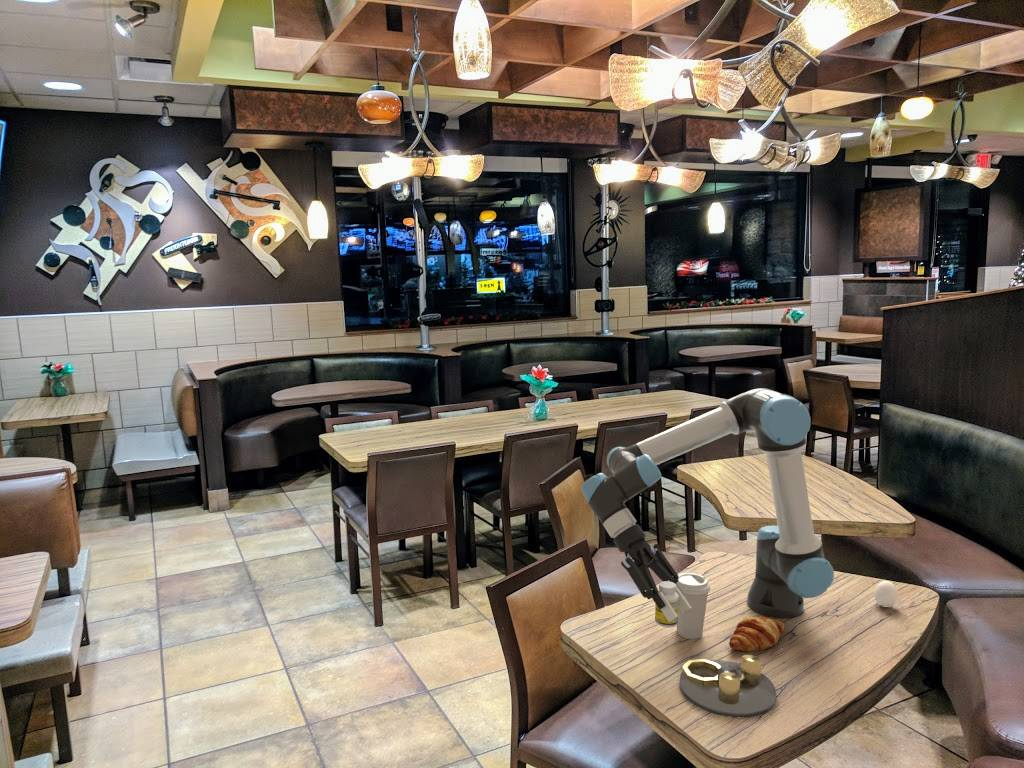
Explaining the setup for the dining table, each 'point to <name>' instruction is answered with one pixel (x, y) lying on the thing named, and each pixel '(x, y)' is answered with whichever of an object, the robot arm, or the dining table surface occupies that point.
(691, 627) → the coffee cup
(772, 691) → the carrier plate
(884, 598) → the egg
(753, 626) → the croissant
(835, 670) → the dining table surface
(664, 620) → the supplement bottle
